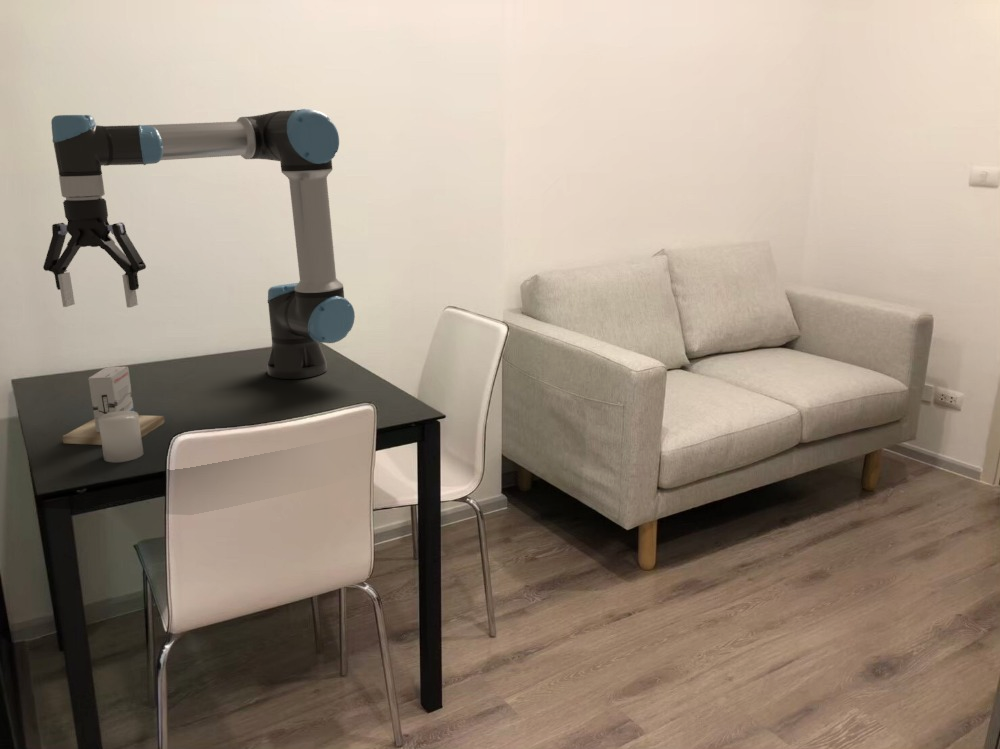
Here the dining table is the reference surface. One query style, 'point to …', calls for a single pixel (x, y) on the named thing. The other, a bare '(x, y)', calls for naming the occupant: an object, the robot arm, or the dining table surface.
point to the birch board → (90, 436)
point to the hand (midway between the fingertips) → (100, 306)
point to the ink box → (110, 392)
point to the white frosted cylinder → (120, 436)
